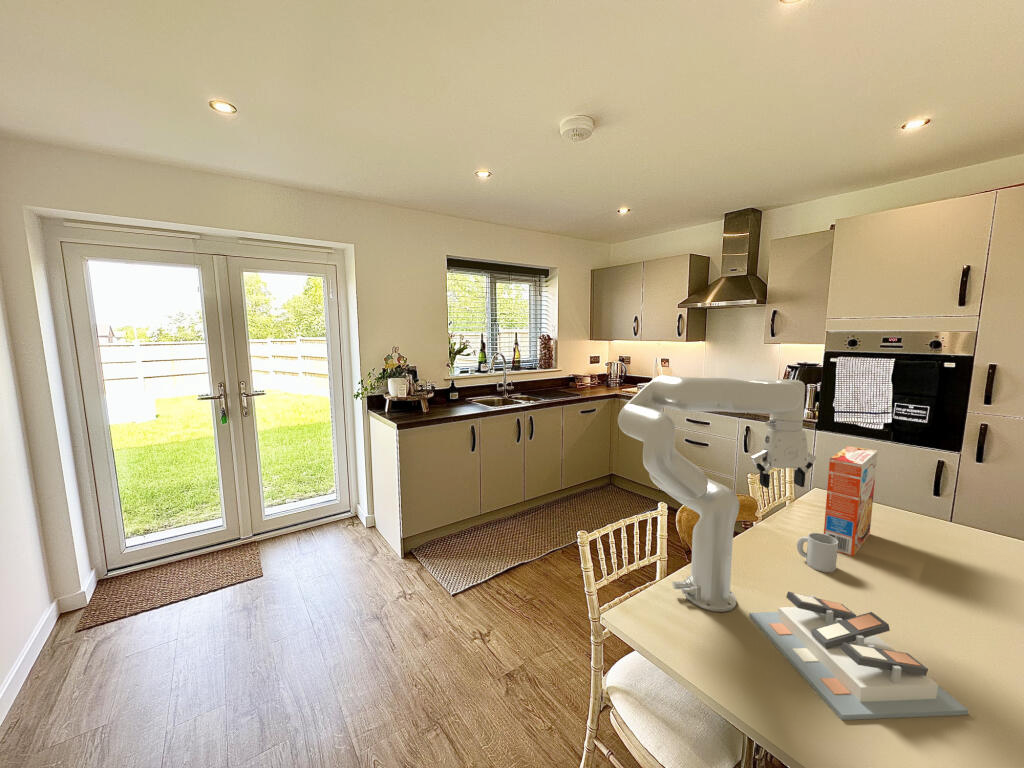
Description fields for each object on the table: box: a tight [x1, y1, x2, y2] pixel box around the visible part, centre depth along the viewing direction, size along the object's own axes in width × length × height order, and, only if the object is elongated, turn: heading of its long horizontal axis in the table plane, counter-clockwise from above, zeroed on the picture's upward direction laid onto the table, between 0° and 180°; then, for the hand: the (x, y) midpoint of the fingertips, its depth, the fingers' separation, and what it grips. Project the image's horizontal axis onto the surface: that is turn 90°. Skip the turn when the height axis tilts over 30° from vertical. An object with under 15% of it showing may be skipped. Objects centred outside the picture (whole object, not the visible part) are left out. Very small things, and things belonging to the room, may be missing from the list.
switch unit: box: [748, 595, 970, 721], centre depth 89 cm, size 24×28×7 cm
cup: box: [796, 532, 838, 573], centre depth 126 cm, size 7×10×9 cm
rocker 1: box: [785, 591, 857, 619], centre depth 97 cm, size 14×4×2 cm, turn 92°
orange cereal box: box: [823, 445, 878, 557], centre depth 139 cm, size 23×8×30 cm, turn 130°
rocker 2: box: [811, 611, 891, 649], centre depth 89 cm, size 14×4×2 cm, turn 92°
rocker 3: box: [841, 642, 929, 676], centre depth 81 cm, size 14×4×2 cm, turn 92°
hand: (781, 485), depth 114 cm, fingers open, 9 cm apart
